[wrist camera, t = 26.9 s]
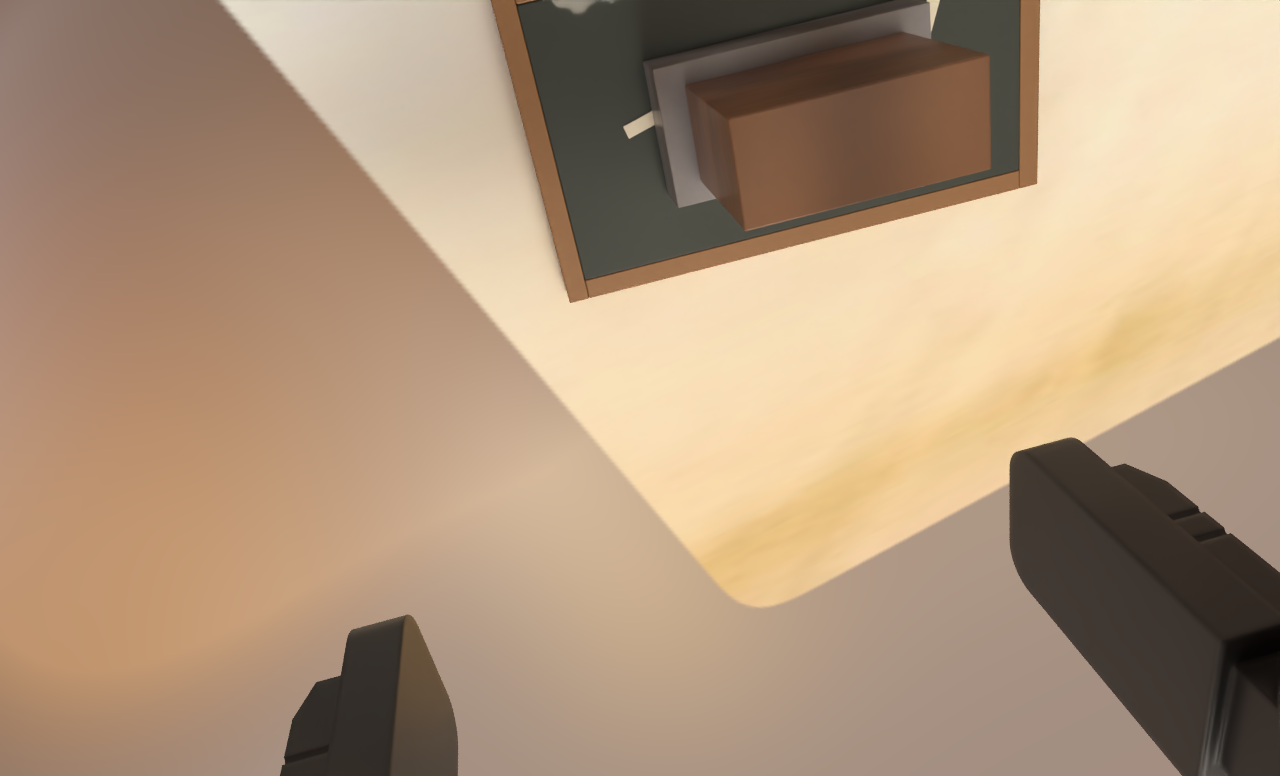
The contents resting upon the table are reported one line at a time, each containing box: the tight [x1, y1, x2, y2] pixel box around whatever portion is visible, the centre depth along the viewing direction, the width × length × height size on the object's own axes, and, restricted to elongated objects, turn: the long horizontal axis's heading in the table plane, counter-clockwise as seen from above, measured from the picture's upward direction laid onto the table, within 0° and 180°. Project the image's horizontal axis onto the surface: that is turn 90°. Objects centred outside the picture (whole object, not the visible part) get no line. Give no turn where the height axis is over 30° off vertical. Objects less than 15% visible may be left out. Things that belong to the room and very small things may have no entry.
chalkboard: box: [491, 0, 1040, 303], centre depth 35 cm, size 12×20×1 cm, turn 101°
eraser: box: [643, 0, 991, 231], centre depth 31 cm, size 10×5×8 cm, turn 102°
